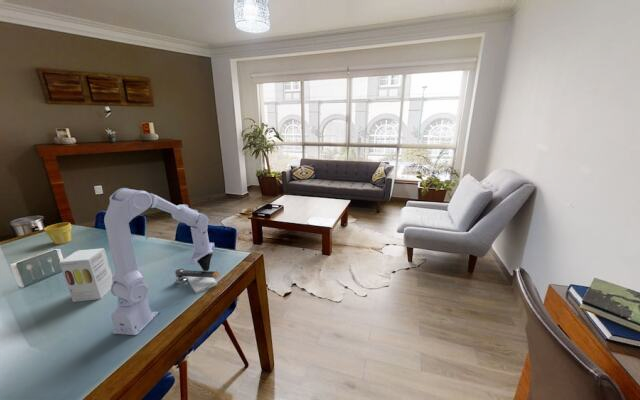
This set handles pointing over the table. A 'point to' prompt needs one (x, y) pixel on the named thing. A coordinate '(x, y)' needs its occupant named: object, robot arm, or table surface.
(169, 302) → the table surface
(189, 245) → the table surface
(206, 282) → the hard drive
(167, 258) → the table surface
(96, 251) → the supplement box
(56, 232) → the plant pot
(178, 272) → the grey bar
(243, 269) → the table surface
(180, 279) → the door knob
